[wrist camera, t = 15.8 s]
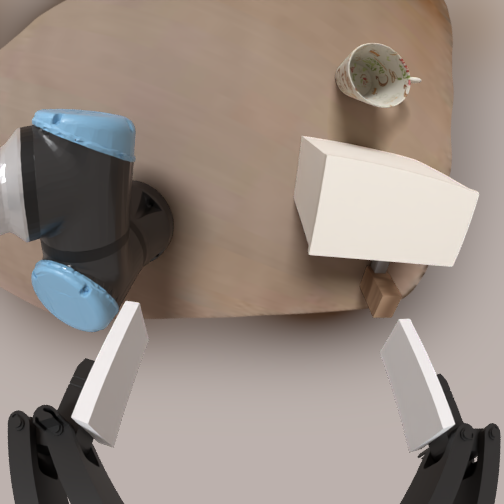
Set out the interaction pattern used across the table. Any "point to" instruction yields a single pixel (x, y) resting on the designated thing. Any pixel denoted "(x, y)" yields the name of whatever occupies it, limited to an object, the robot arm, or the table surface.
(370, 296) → the blade tool
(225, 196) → the table surface
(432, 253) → the cabinet
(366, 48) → the mug
